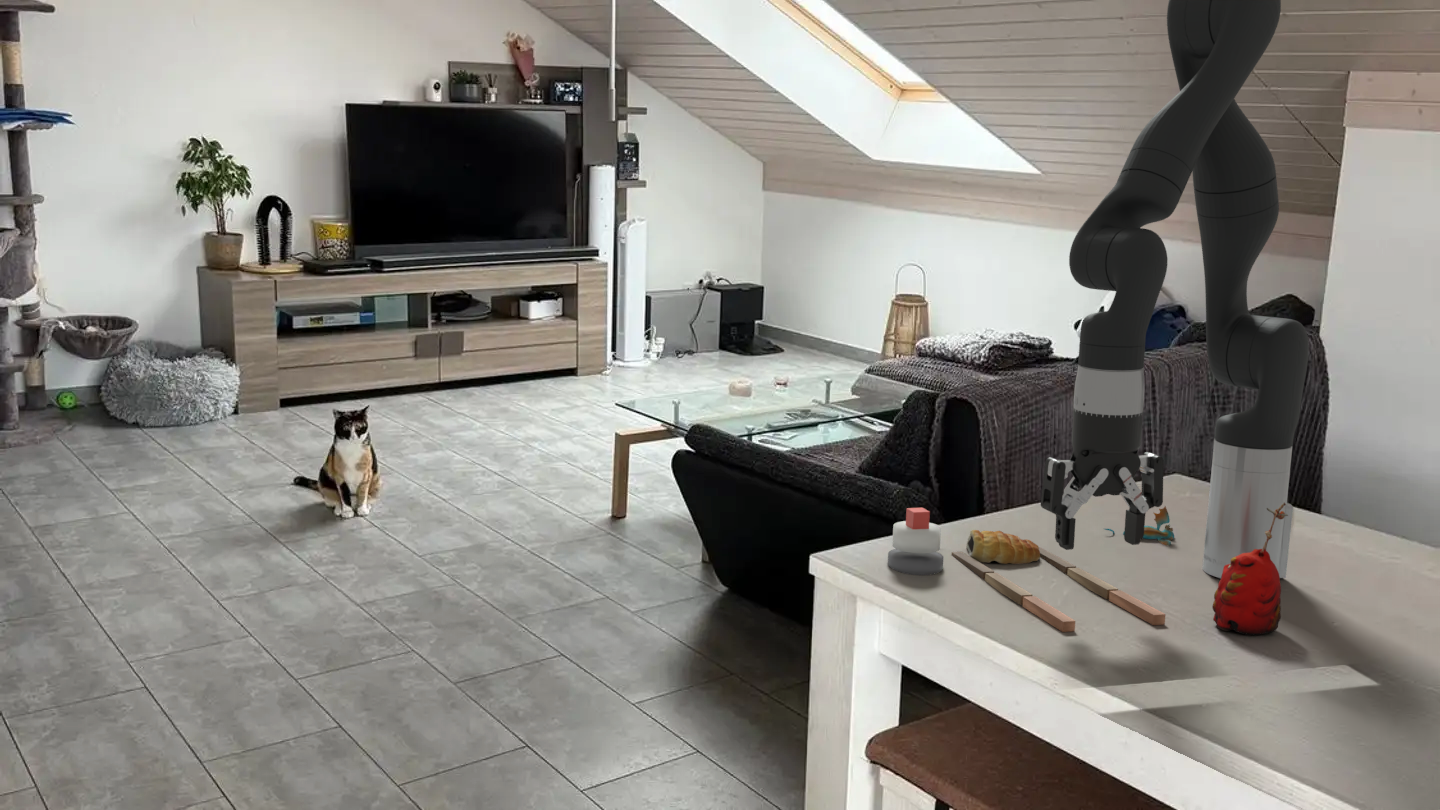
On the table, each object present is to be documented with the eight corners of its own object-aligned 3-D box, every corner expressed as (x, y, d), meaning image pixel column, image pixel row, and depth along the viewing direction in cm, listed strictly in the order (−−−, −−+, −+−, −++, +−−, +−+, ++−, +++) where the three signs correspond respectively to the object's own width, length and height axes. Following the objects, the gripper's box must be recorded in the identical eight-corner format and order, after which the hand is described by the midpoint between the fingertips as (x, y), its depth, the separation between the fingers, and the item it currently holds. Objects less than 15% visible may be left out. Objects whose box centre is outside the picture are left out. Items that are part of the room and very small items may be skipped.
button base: (928, 561, 170) (929, 546, 169) (952, 576, 163) (952, 561, 163) (878, 564, 168) (879, 549, 168) (900, 579, 161) (901, 564, 161)
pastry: (1032, 554, 173) (1034, 527, 173) (1045, 567, 167) (1047, 538, 166) (962, 552, 173) (964, 524, 173) (972, 565, 167) (974, 536, 166)
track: (1039, 555, 174) (1040, 547, 174) (1164, 624, 147) (1165, 614, 147) (951, 561, 170) (951, 552, 170) (1062, 632, 144) (1063, 621, 143)
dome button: (927, 539, 169) (929, 503, 168) (948, 551, 163) (950, 514, 162) (885, 541, 167) (886, 505, 166) (903, 554, 161) (905, 516, 161)
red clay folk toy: (1222, 613, 152) (1233, 488, 149) (1286, 626, 148) (1299, 498, 145) (1204, 630, 146) (1216, 500, 143) (1271, 644, 142) (1284, 510, 139)
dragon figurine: (1123, 567, 184) (1180, 560, 180) (1103, 551, 179) (1161, 544, 174) (1122, 523, 187) (1178, 516, 182) (1102, 506, 182) (1159, 498, 177)
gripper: (1069, 415, 140) (1060, 559, 143) (1183, 409, 144) (1173, 550, 147) (1034, 403, 147) (1027, 540, 150) (1144, 398, 151) (1135, 532, 154)
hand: (1099, 545), depth 149 cm, fingers open, 8 cm apart
